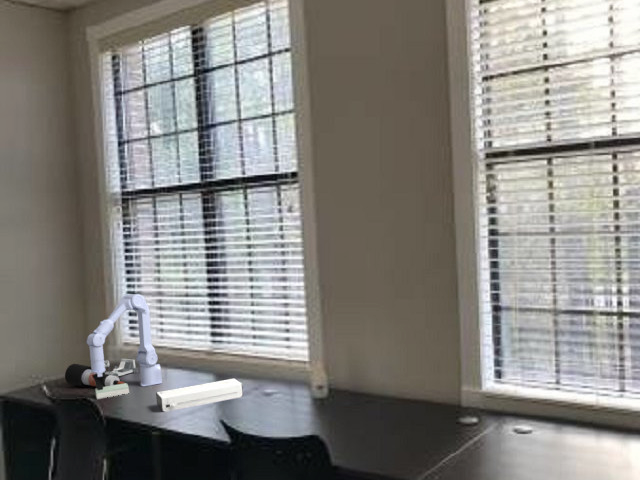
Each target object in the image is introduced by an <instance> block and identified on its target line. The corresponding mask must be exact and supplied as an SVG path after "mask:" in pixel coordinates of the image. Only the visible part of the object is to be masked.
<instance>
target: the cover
mask: <svg viewBox="0 0 640 480" xmlns="http://www.w3.org/2000/svg"><path fill="white" fill-rule="evenodd" d="M128 388H129V385H128V383H126V382H124V384H118V385H112V386H106V387H103V390H98V389H97V387H96V388H94V390H95V391H96V393H95V395H96V394H99V393H104V392H110V391H116V390H122V389H128ZM129 389H130V388H129ZM95 391H94V392H95Z"/></svg>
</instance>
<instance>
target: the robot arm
mask: <svg viewBox="0 0 640 480" xmlns="http://www.w3.org/2000/svg"><path fill="white" fill-rule="evenodd" d="M130 310H133V311H135V313H137V320H138V321H137V322H138V334H139V335H138V336H139V337H138V339H139V346H138V348H137V354H136V358H135V359H136V362H137V363H138V364H139V370H140V381H141V382H139V385H140V386H141V387H149V386H154V385H160V384H161V385H162V384H163V377H162V368H161V364H160V363H157V362H158V355H157V353H156V348H155V347H154V346H153V343H152V327H151V316H150V315H151V314H150V307H149V305H148V304H147V301H146V297H144V296H143V295H142V294H140V293H139V294H137V293H136V294H132V293H127V294H125V295H123V297H122V298H121V299H120V300H119V302H118V305H117V306H116V307H115V308H114V309H113V311H112V312H111V314H110V315H109V316H108V318H107V319H103V320H100V322H99V325H98V326H97V328H96V329H94V330H93V331H92V332H93V333H90V334H89V335H88V336H87V340H86V341H85V342H86V344H87V345H88V347H89V356H90V367H91V368H92V370H90V371H89V373H95V374H94V375H92V376H93V378H94V380H95V382H96V386H95V387H96V388H97V389H98V390H103V383H104V378H105V376H106V374H105V368H106V367H105V364H104V361H105V357H104V356H105V355H104V344H105V342H106V338H107V336H108V335H109V334H110V333H111V331H113V329H114V327H115V326H114V324H115V323H116V322H117V320H118V319H119V318H120V317H121V316H122V315H123V314H124V313H125V312H126V311H130Z"/></svg>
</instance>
